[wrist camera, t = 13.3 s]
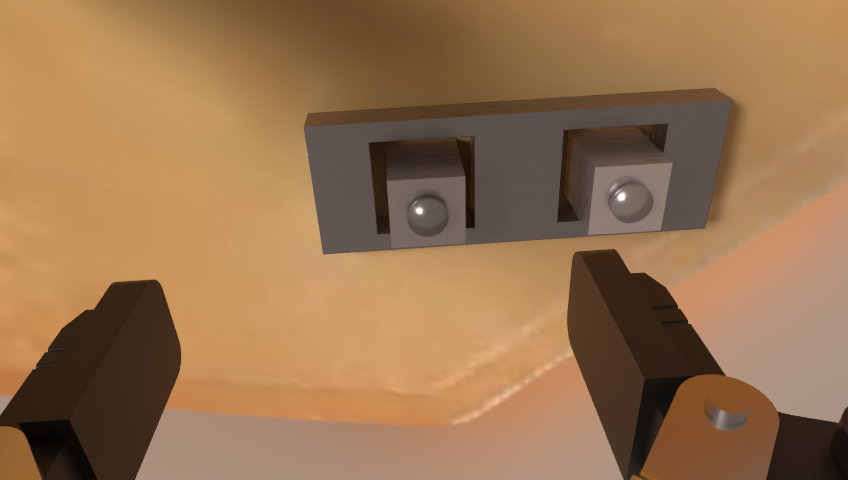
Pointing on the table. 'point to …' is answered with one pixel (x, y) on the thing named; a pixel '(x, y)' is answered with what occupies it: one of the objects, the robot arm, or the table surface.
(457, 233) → the knobbed grey cube
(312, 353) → the table surface
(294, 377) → the table surface
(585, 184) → the cube with silver knob
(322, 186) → the grey slotted board
